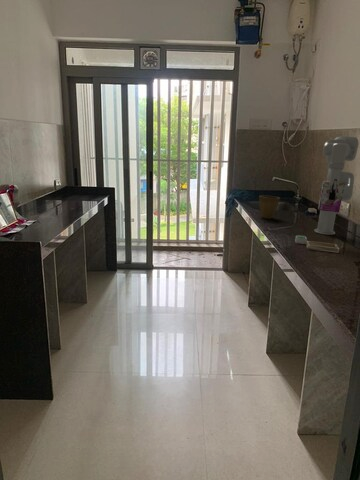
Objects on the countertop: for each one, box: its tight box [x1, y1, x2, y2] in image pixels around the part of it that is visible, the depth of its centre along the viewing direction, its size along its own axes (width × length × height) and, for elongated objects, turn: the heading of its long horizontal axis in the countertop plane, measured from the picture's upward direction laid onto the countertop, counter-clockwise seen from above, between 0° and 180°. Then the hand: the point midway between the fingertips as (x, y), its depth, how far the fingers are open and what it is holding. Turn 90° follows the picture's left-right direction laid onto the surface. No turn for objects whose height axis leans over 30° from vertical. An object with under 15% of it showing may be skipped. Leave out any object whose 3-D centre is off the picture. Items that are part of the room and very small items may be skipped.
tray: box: [305, 240, 340, 254], centre depth 194 cm, size 10×16×2 cm, turn 76°
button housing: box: [294, 235, 308, 245], centre depth 204 cm, size 6×6×3 cm
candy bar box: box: [318, 180, 345, 213], centre depth 202 cm, size 11×5×16 cm, turn 74°
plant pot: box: [258, 194, 280, 219], centre depth 267 cm, size 15×15×16 cm
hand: (330, 198), depth 203 cm, fingers closed on candy bar box, 5 cm apart
